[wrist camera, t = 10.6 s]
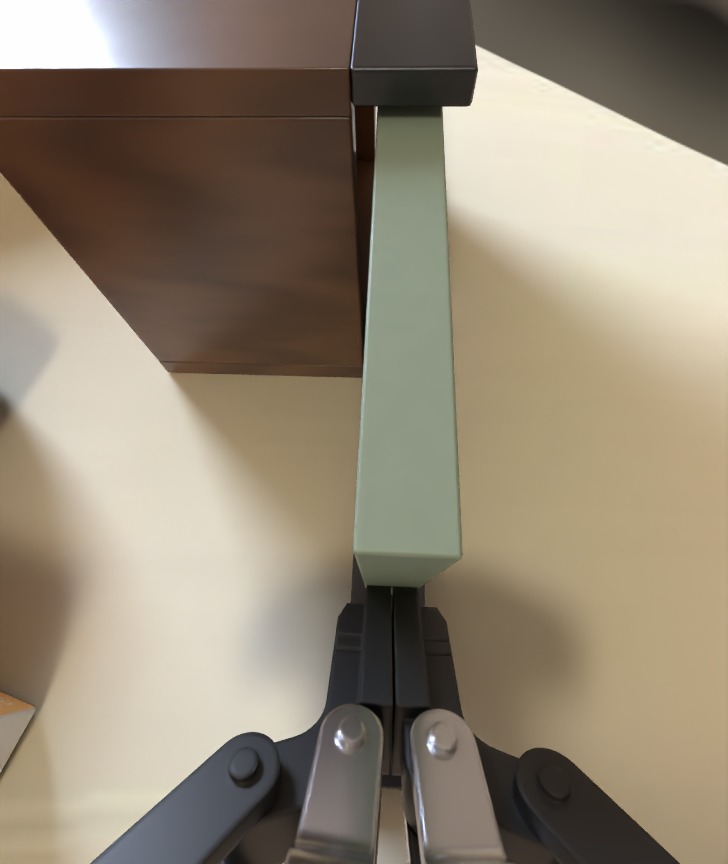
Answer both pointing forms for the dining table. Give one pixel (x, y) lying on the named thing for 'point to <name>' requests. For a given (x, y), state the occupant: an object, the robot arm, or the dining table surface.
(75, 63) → the box
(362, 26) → the track
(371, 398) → the door
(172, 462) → the dining table surface
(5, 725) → the small box
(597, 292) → the dining table surface
